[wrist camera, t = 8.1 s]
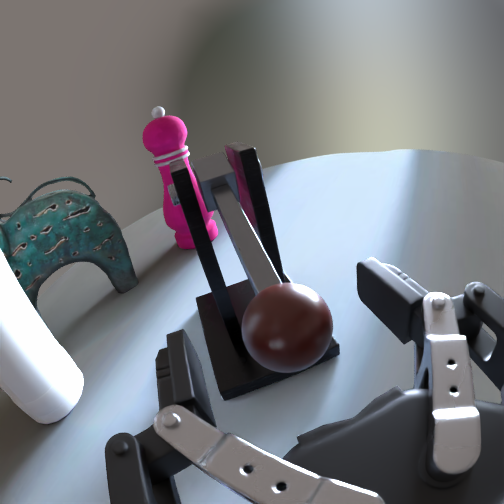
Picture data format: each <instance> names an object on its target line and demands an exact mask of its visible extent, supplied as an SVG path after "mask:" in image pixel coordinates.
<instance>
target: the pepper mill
mask: <svg viewBox="0 0 504 504" xmlns="http://www.w3.org/2000/svg"><path fill="white" fill-rule="evenodd" d="M164 113H165V111H164V109H163V108H162V107H155V108H154V109H153V110H152V117H153V118H154V119H155V120H153V121H151V122H150V123H149V124H148V125H147V126H146V127H145V129H144V131H143V143H144V146H145V148H146V149H147V150H148V151H150V152H152V153H153V154H154V157H153V160H154V163H155V164H154V165H155V167H158V168H159V170H160V173H161V175H162V179H163V183H164V202H163V212H164V218H165V221H166V224H167V225H168V226H169V227H170V228H171V229H173V230H175V231H176V233H175V239H176V241H177V244H178V246H179V247H180V248H182V249H194V248H196V247H195V245H194V242H193V239H192V236H191V233H190V231H189V228H188V225H187V222H186V219H185V216H184V213H183V210H182V207H181V204H179V205H177V206H174V205H173V203H172V200H171V197H170V194H169V191H168V185H171V184H174V183H173V180H172V177H171V174H170V165H169V163H170V162H172V161H175V160H178V159H181V158H183V159H184V161H185V164H186V166H187V168H188V171H189V174H190V177H191V180H192V184H193V187H194V190H195V193H196V197H197V200H198V203H199V206H200V209H201V212H202V216H203V219H204V222H205V225H206V228H207V231H208V234H209V237H210V240H211V241H212V240H214V239H215V238H216V236H217V234H218V230H217V227H216V224H215V221H213V220H211V217H212V215H213V212H214V211H211V212H207V209H206V207H205V204H204V202H203V199H202V197H201V194H200V191H199V189H198V185H197V182H196V179H195V177H194V175H193V173H192V171H191V169H190V166H189V162H188V156H189V154H190V153H189V152H188V150H187V149H188V147H187V146H184V142H185V139H186V137H187V130H186V127H185V124H184V123H183V122H182V121H181V120H180V119H179V118H177V117H175V116H164Z"/></svg>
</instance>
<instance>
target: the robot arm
mask: <svg viewBox="0 0 504 504" xmlns="http://www.w3.org/2000/svg"><path fill="white" fill-rule="evenodd" d="M357 291H358V295H359V297H360V299H361V301H362V302H363V303H364V304H365V305H366V306H367V307H368V308H369V309H370V310H371V311H372V312H373V313H374V314H375V315H376V316H377V317H378V318H379V319H380V320H381V321H382V322H383V323H384V324H385V325H386V326H387V327H388V328H389V329H390V330H391V331H392V333H393V334H394V335H395V336H396V337H397V338H398V339H399V340H400V341H401V342H402V343H403V344H406V343H407V342H409V341H411V340H413V341H414V342H415V345H414V386H413V389H408V390H404V391H401V389H400V388H399V387H398V386H396V387H394V388H392V389H391V390H389V391H387V392H386V393H384V394H382V395H380V396H379V397H377V398H375V399H374V400H373V401H372V402H371V403H370V404H369V405H368V406H367V407H365V408H364V409H363V410H362V411H361V412H360V413H359V414H358V415H356V416H355V417H353V418H351V419H347V420H343V421H339V422H335V423H330V424H326V425H323V426H320V427H318V428H316V429H314V430H311V431H309V432H307V433H304V434H302V435H300V436H297V439H298V442H299V443H298V444H297V445H296V446H294V447H293V448H292V449H291V450H290V451H289V452H288V453H287V454H286V455H285V456H284V457H283V459H280V458H278V457H276V456H274V455H272V454H270V453H268V452H266V451H264V450H262V449H260V448H258V447H256V446H254V445H252V444H250V443H248V442H247V441H245V440H243V439H241V438H239V437H238V436H236V435H234V434H231V433H227V434H226V433H223V432H222V431H220V430H218V429H217V426H216V423H215V419H214V415H213V411H212V408H211V404H210V400H209V396H208V392H207V388H206V384H205V379H204V375H203V371H202V367H201V363H200V360H199V358H198V355H197V353H196V351H195V349H194V348H193V346H192V344H191V342H190V340H189V338H188V336H187V334H186V332H185V331H184V329H182V330H179V331H176V332H173V333H170V334H167V348H164V349H160V350H159V352H158V355H157V357H156V360H155V361H156V371H157V372H156V376H157V388H158V399H159V412H158V413H157V415H156V416H155V418H154V422H153V425H152V426H151V427H149V428H148V429H146V430H144V431H143V432H141V433H139V434H137V435H135V436H134V437H133V436H132V435H131V434H128V433H118V434H116V435H114V436H112V437H111V438H110V439H109V441H108V442H107V444H106V447H105V460H106V471H107V481H108V489H109V496H110V503H111V504H181V501H180V498H179V494H178V491H177V487H176V483H175V479H174V476H173V475H175V474H176V473H178V472H180V471H182V470H183V469H185V468H187V467H188V466H190V465H192V464H193V465H194V466H196V467H197V468H198V469H200V470H201V471H203V472H204V473H205V474H207V475H208V476H210V477H211V478H213V479H214V480H216V481H217V482H219V483H220V484H222V485H223V486H225V487H226V488H228V489H229V490H231V491H232V492H234V493H236V494H237V495H239V496H240V497H242V498H244V499H245V500H247V501H249V502H251V503H252V504H504V299H503V298H502V297H501V296H499V295H498V294H497V293H496V292H494V291H493V290H492V289H491V288H489V287H488V286H487V285H485V284H483V283H480V282H472V283H469V284H468V285H467V286H466V287H465V291H464V294H462V295H459V296H455V297H452V298H450V297H449V296H448V295H446V294H443V293H439V292H434V293H429V292H428V291H426V290H425V289H424V288H423V287H421V286H420V285H419V284H417V283H416V282H415V281H413V280H412V279H411V278H409V277H408V276H407V275H406V274H404V273H403V272H402V271H400V270H399V269H398V268H396V267H395V266H392V265H389V264H386V263H384V264H382V263H380V262H379V261H378V260H376V259H375V258H374V257H370V258H368V259H366V260H363V261H361V262H359V263H358V264H357ZM483 322H484V323H485V324H486V325H487V326H488V327H489V328H490V329H491V330H492V331H493V332H494V333H495V334H496V337H497V342H496V341H495V340H494V339H493V338H492V337H491V336H490V335H489V334H488V333H487V332H486V331H485V330H484V329H483V328H482V324H483ZM470 358H471V359H472V360H473V361H474V362H475V363H476V364H477V365H478V366H479V368H480V369H481V370H482V371H483V372H484V373H485V374H486V375H487V376H488V378H489V379H490V380H491V381H492V382H493V383H494V384H495V386H496V387H497V388H498V389H499V390H500V391H501V398H502V402H501V404H496V403H491V402H485V401H480V400H475V395H474V385H473V377H472V369H471V362H470Z"/></svg>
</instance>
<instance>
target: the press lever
mask: <svg viewBox="0 0 504 504" xmlns="http://www.w3.org/2000/svg"><path fill="white" fill-rule="evenodd" d="M191 164H192V167H193V171H194V174H195V178H196V182H197V185H198V189H199V191H200V194H201V197H202V199H203V202H204V204H205V207H206V209H207V212H211V211H214V210H217V209H218V212H219V214H220V216H221V219H222V221H223V223H224V225H225V228H226V230H227V232H228V234H229V237H230V239H231V241H232V243H233V246H234V248H235V250H236V252H237V255H238V257H239V259H240V261H241V264H242V266H243V268H244V270H245V273H246V275H247V277H248V279H249V281H250V284H251V286H252V288H253V290H254V293H255V295H256V296H255V297H254V298H253V299H252V300H251V302H250V303H249V305H248V306H247V308H246V311H245V313H244V316H243V320H242V337H243V341H244V344H245V346H246V348H247V350H248V352H249V353H250V355H251V356H252V357H253V358H254V360H256V361H257V362H258V363H259V364H260V365H262V366H264V367H265V368H267V369H270V370H272V371H276V372H282V373H291V372H297V371H301V370H304V369H306V368H308V367H310V366H312V365H313V364H314V363H316V362H317V361H318V360H319V359H320V358H321V357H322V356H323V355H324V353H325V352H326V350H327V348H328V346H329V344H330V342H331V338H332V332H333V321H332V316H331V313H330V310H329V308H328V306H327V304H326V303H325V301H324V300H323V299H322V297H321V296H320V295H319V294H317V293H316V292H315V291H314V290H312V289H311V288H308V287H306V286H304V285H301V284H296V283H282V282H281V280H280V278H279V277H278V275H277V273H276V271H275V269H274V267H273V265H272V263H271V262H270V260H269V258H268V256H267V254H266V252H265V250H264V249H263V247H262V245H261V243H260V241H259V239H258V237H257V236H256V234H255V232H254V230H253V228H252V226H251V224H250V223H249V221H248V219H247V217H246V215H245V213H244V212H243V210H242V208H241V206H240V204H239V202H240V195H239V190H238V184H237V179H236V173H235V170H234V169H233V167H232V166H231V164H230V162H229V161H228V159H227V158H226V156H225V154H224V153H223V152H219V153H216V154H213V155H210V156H206V157H203V158H200V159H197V160H194V161H191Z"/></svg>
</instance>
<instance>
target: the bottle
mask: <svg viewBox="0 0 504 504" xmlns="http://www.w3.org/2000/svg"><path fill="white" fill-rule="evenodd" d="M83 383H84V381H83V376H82V373H81V371H80V370H79V369H78V367H77V366H76V365H75V363H74V361H73V360H72V359H71V357H70V356H69V355H68V353H67V352H66V351H65V350H64V348H63V347H62V346H60V345H59V343H58V342H57V341H56V339H55V338H54V337H53V335H52V334H51V332H50V331H49V330H48V328H47V327H46V325H45V324H44V322H43V321H42V320H41V318H40V317H39V315H38V314H37V312H36V310H35V309H34V307H33V306H32V304H31V303H30V301H29V299H28V298H27V296H26V295H25V293H24V291H23V290H22V288H21V286H20V285H19V283H18V281H17V279H16V278H15V276H14V274H13V272H12V270H11V268H10V267H9V265H8V263H7V261H6V259H5V257H4V255H3V253H2V251H1V249H0V387H1V388H2V389H3V390H4V391H5V392H6V393H7V394H8V395H9V396H10V397H11V399H12V401H13V402H14V403H15V404H16V405H17V406H18V407H19V408H21V409H22V410H23V411H24V412H25V413H27V414H28V415H29V416H30V417H31V418H33V419H34V420H35V421H37V422H38V423H43V424H49V423H53V422H56V421H59V420H60V419H62V418H63V417H65V416H66V415H68V414H69V412H70V411H71V410H72V409H73V408H74V407H75V405H76V404H77V402H78V400H79V398H80V396H81V393H82V388H83Z"/></svg>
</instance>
